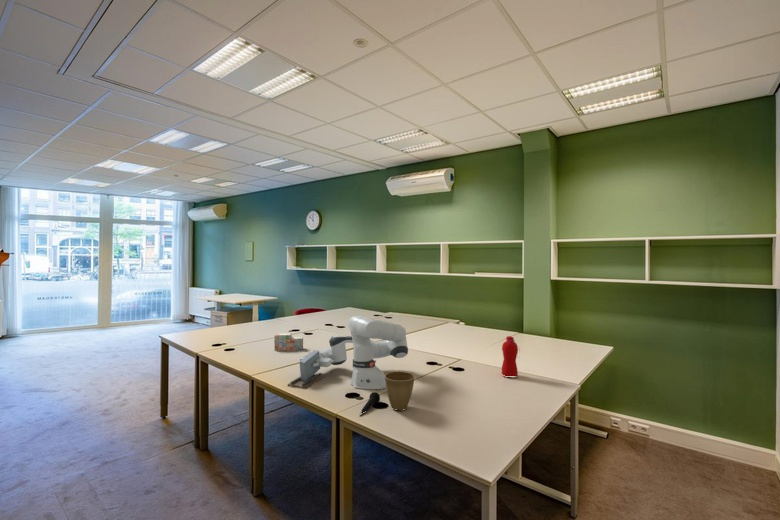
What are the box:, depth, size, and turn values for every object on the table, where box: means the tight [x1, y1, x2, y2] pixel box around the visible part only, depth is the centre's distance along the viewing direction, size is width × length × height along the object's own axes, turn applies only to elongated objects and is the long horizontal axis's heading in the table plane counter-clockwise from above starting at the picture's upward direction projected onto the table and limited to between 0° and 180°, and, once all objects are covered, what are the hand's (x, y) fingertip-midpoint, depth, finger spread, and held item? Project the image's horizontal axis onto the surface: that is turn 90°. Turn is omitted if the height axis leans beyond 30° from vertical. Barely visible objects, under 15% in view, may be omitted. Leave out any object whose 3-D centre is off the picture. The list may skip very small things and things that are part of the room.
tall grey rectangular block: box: [299, 349, 321, 381], centre depth 221 cm, size 4×16×12 cm, turn 160°
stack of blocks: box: [273, 332, 304, 351], centre depth 288 cm, size 21×6×12 cm, turn 97°
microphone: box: [360, 391, 381, 413], centre depth 181 cm, size 6×6×20 cm
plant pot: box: [384, 371, 415, 411], centre depth 181 cm, size 15×15×16 cm
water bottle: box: [501, 336, 521, 377], centre depth 230 cm, size 9×11×25 cm
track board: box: [287, 372, 325, 389], centre depth 217 cm, size 12×20×2 cm, turn 160°
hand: (308, 365), depth 219 cm, fingers closed on tall grey rectangular block, 3 cm apart
